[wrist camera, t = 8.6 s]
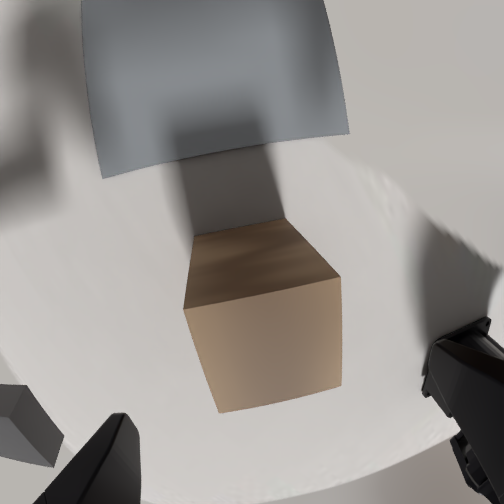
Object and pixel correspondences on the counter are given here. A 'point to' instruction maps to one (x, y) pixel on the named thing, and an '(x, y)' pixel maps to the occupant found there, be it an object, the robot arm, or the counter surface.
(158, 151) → the pad
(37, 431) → the grey rectangular bar
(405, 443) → the counter surface
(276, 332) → the wooden block
